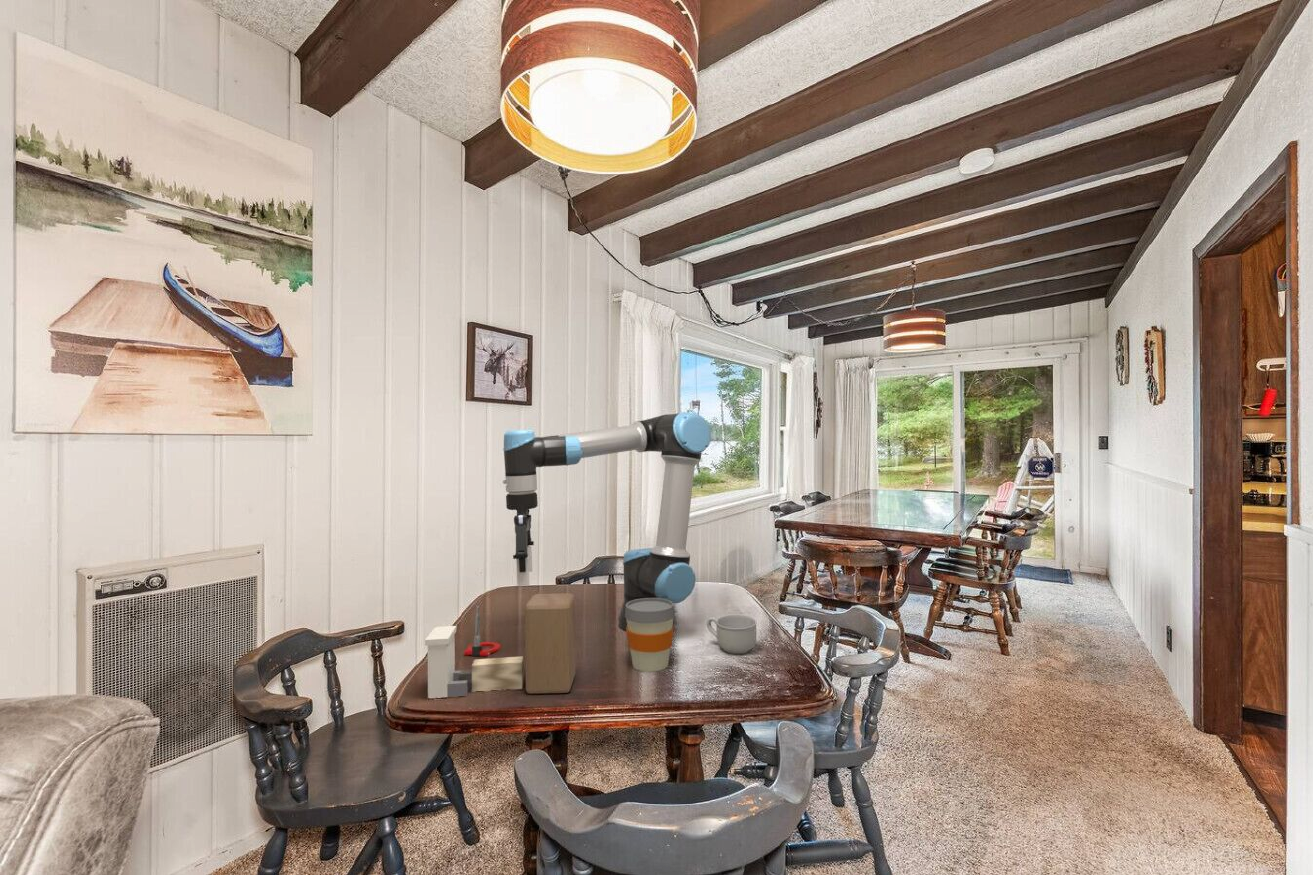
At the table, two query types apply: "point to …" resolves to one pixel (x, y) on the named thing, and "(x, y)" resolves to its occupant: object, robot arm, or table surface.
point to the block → (550, 643)
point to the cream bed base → (443, 664)
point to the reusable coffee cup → (650, 632)
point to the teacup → (734, 632)
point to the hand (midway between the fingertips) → (525, 578)
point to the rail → (494, 674)
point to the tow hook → (477, 646)
